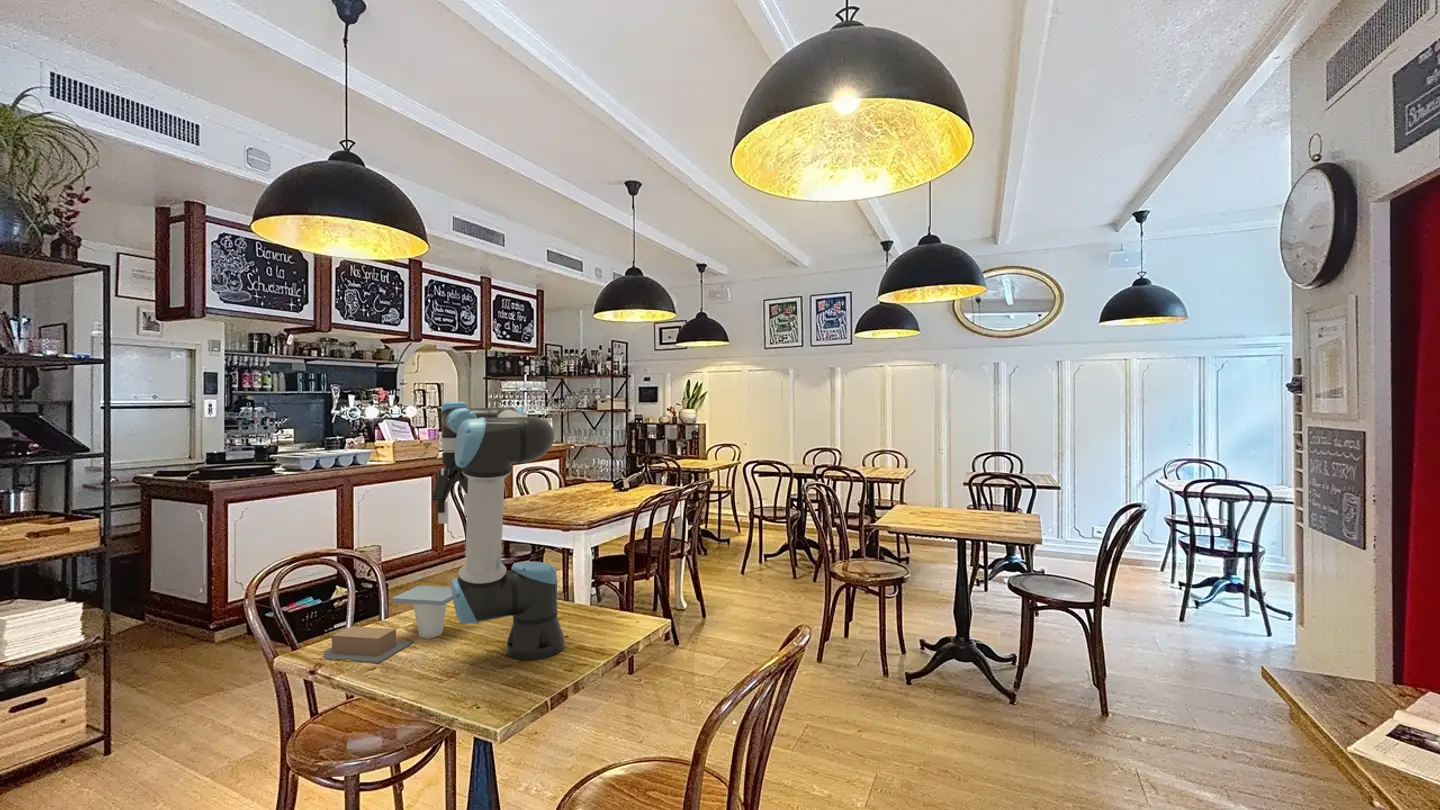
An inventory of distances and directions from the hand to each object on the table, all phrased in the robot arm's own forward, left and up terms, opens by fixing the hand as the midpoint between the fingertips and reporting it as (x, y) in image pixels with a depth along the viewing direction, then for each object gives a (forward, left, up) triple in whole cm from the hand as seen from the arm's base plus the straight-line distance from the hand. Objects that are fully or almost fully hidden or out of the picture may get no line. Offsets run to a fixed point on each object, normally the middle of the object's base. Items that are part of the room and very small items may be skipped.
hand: (456, 519), depth 197 cm
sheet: (-1, +15, -20) cm, 25 cm away
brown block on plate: (+10, +28, -31) cm, 43 cm away
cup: (-1, +15, -31) cm, 34 cm away
